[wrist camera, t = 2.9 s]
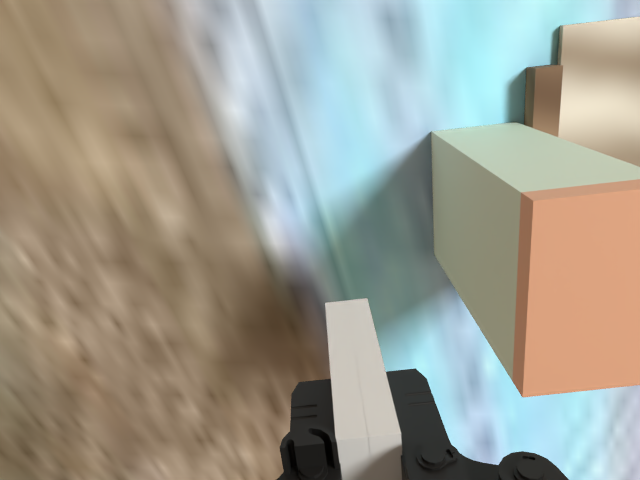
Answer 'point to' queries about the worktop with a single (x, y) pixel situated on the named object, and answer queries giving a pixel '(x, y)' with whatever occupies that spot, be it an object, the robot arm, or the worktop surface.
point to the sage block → (542, 253)
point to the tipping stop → (591, 89)
